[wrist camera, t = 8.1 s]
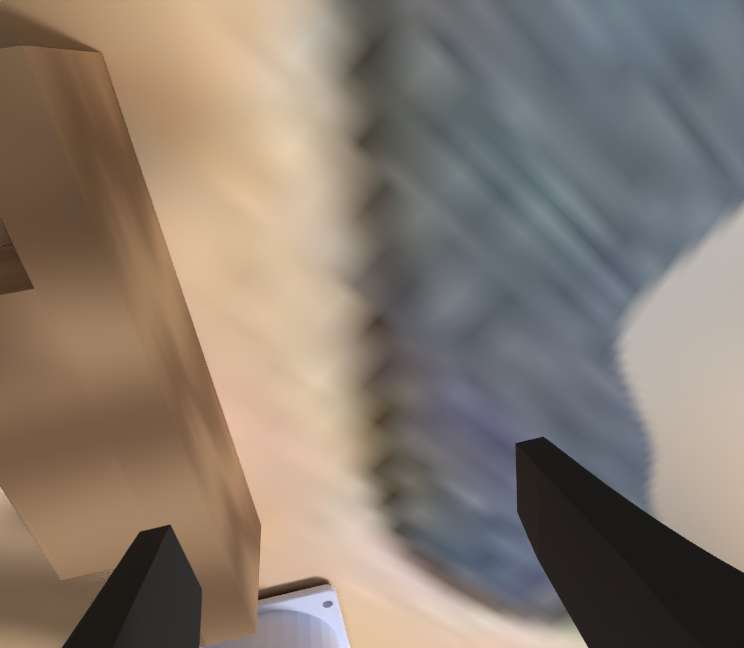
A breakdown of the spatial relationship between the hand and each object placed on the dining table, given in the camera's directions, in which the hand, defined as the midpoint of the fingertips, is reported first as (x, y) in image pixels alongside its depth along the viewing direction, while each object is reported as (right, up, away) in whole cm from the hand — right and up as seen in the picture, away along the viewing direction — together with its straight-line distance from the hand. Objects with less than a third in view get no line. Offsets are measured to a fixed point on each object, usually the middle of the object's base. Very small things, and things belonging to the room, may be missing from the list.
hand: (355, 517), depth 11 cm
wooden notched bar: (-8, +3, +8) cm, 12 cm away
